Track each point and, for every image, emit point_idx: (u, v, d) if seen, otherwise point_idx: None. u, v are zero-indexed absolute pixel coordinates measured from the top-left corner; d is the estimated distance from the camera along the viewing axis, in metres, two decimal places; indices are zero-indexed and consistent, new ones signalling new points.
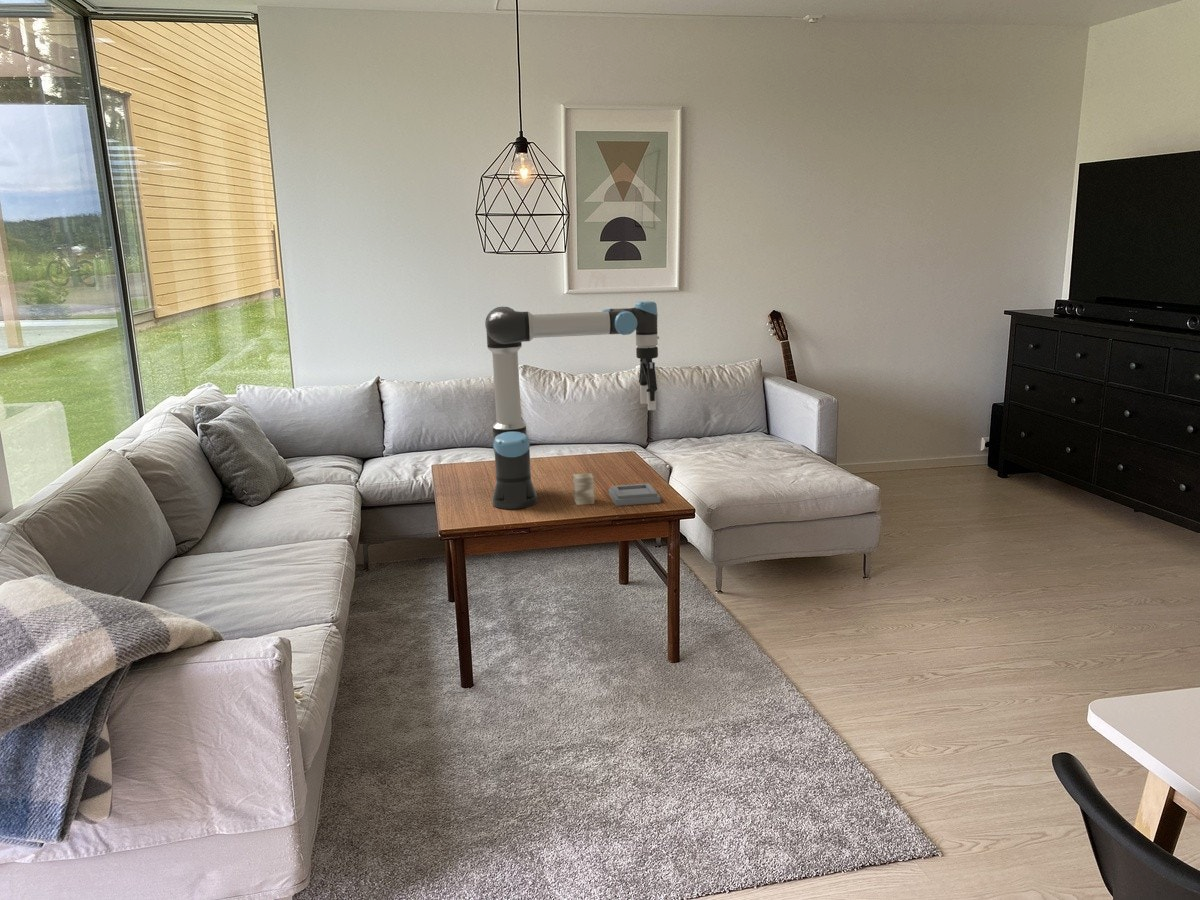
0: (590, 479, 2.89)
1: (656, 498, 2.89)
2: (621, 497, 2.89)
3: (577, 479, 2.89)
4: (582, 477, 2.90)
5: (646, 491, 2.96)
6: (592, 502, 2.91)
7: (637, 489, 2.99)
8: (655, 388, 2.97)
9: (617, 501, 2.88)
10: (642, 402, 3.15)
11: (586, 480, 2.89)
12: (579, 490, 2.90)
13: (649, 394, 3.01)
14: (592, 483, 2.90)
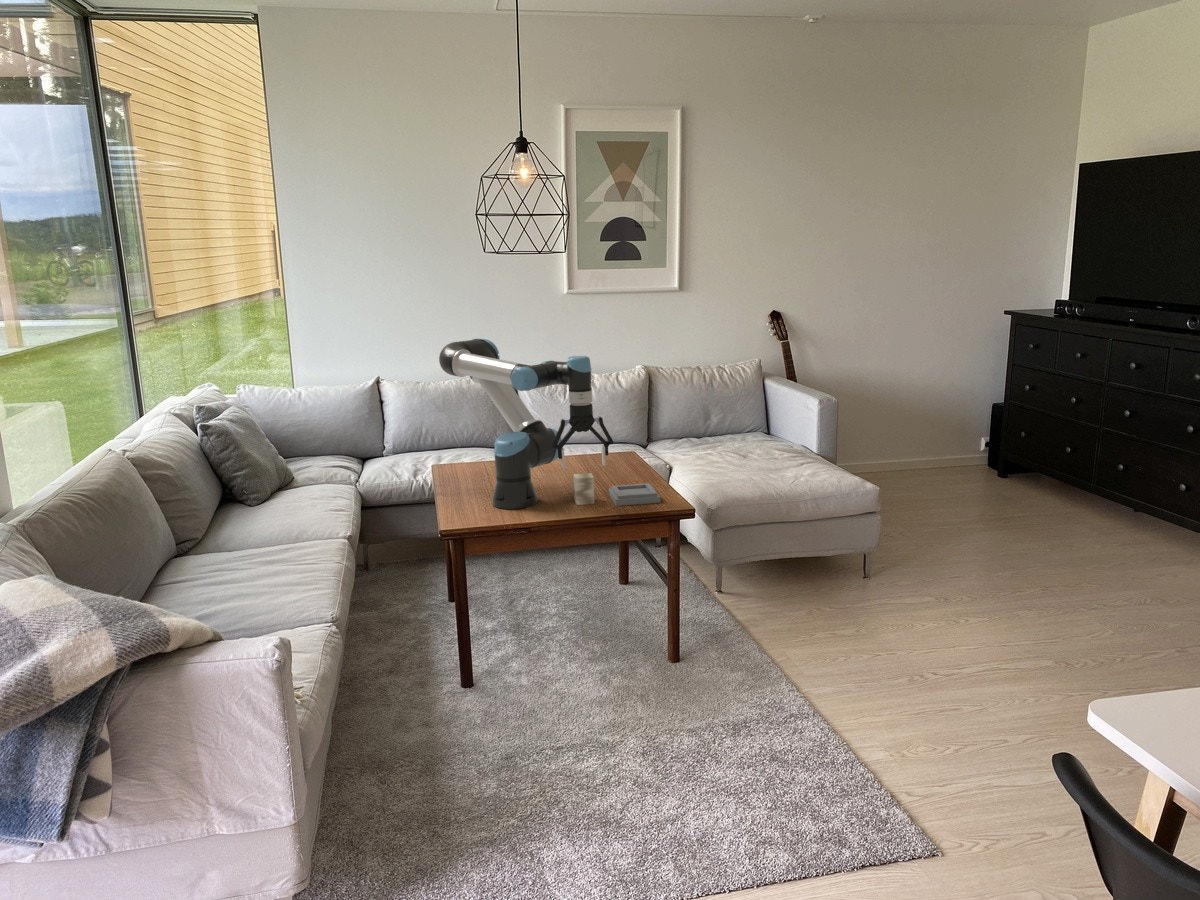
0: (590, 479, 2.89)
1: (656, 498, 2.89)
2: (621, 497, 2.89)
3: (577, 479, 2.89)
4: (582, 477, 2.90)
5: (646, 491, 2.96)
6: (592, 502, 2.91)
7: (637, 489, 2.99)
8: (552, 445, 2.87)
9: (617, 501, 2.88)
10: (602, 463, 2.92)
11: (586, 480, 2.89)
12: (579, 490, 2.90)
13: None
14: (592, 483, 2.90)
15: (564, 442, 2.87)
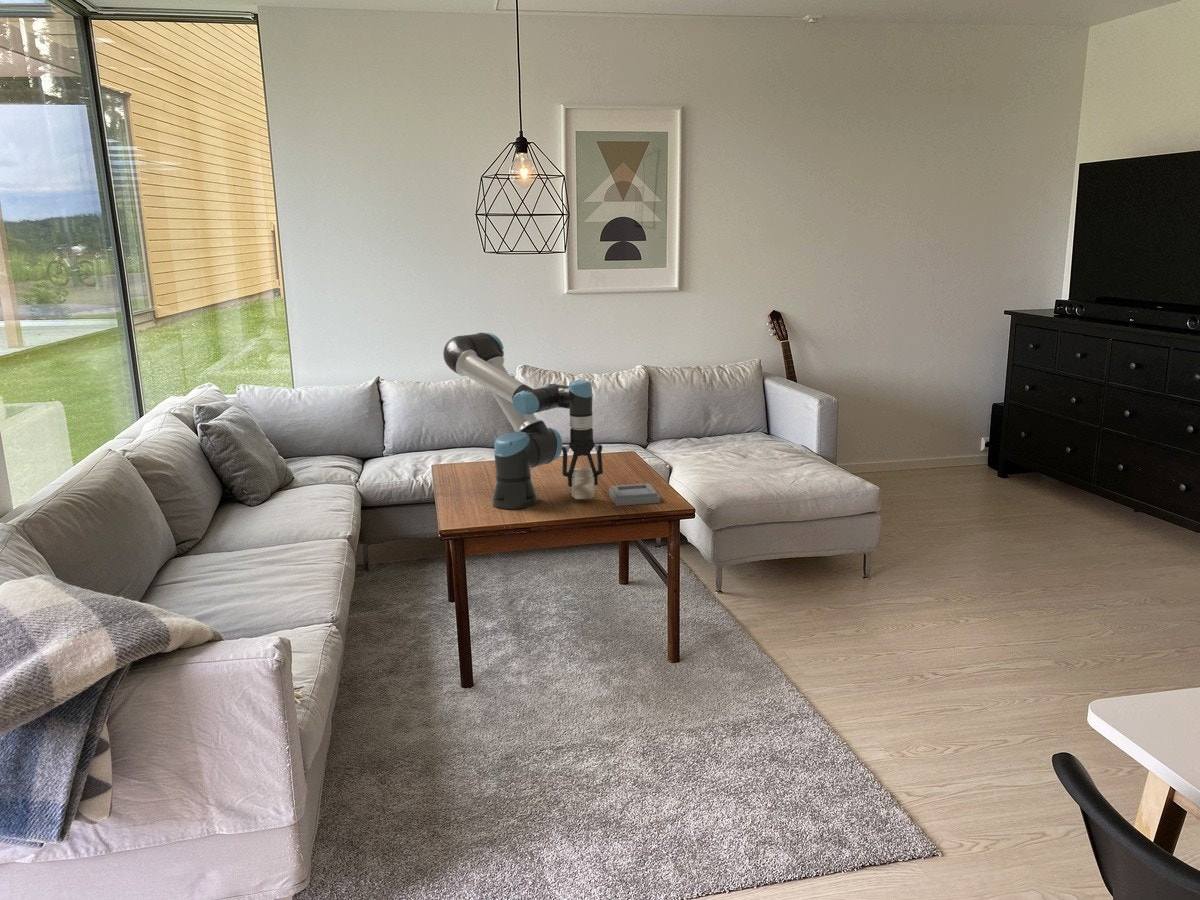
0: (589, 473, 2.89)
1: (656, 498, 2.89)
2: (621, 497, 2.89)
3: (576, 473, 2.89)
4: (581, 471, 2.90)
5: (646, 491, 2.96)
6: (591, 496, 2.91)
7: (637, 489, 2.99)
8: (563, 473, 2.90)
9: (617, 501, 2.88)
10: None
11: (585, 474, 2.89)
12: (578, 484, 2.90)
13: None
14: (591, 477, 2.90)
15: (572, 469, 2.90)
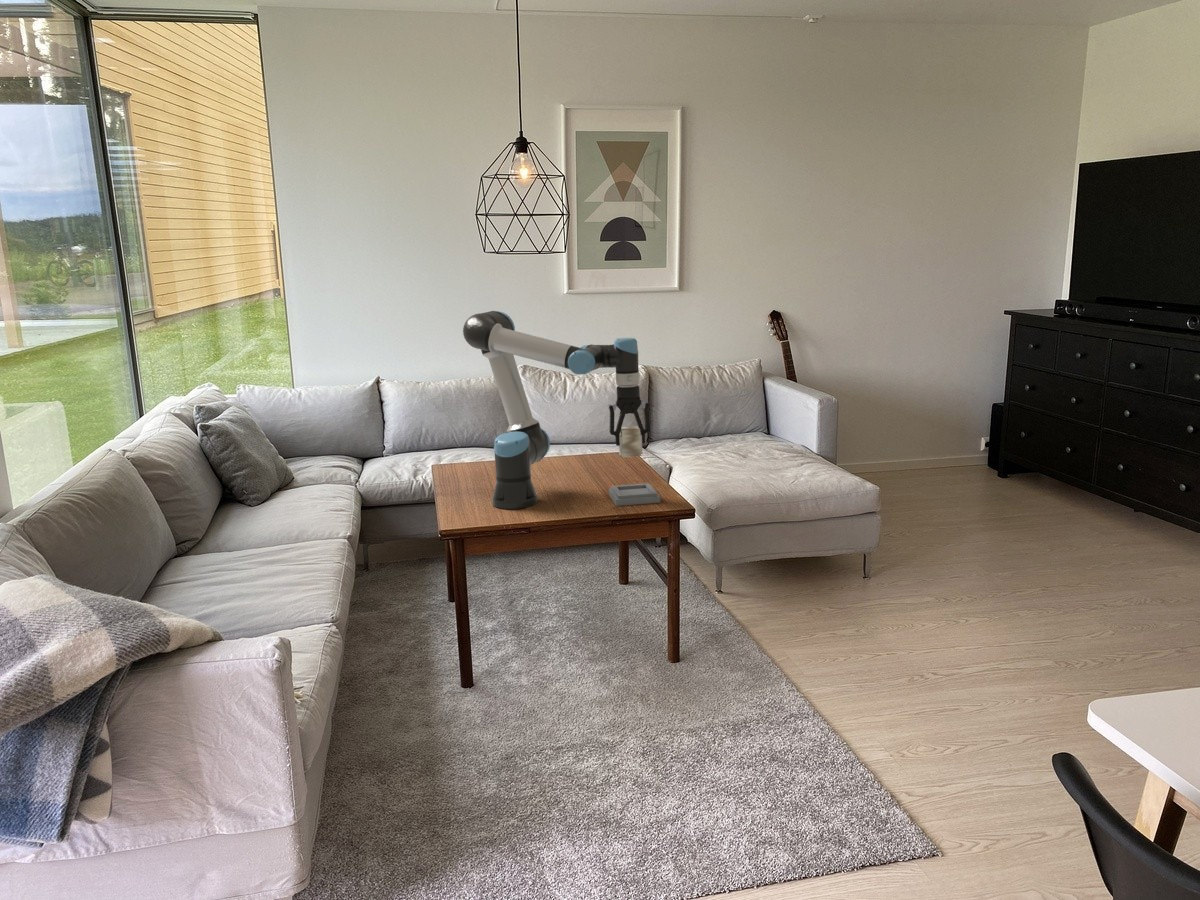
0: (637, 431, 2.88)
1: (656, 498, 2.89)
2: (621, 497, 2.89)
3: (624, 431, 2.87)
4: (628, 429, 2.88)
5: (646, 491, 2.96)
6: (639, 454, 2.90)
7: (637, 489, 2.99)
8: None
9: (617, 501, 2.88)
10: None
11: (633, 432, 2.88)
12: (626, 442, 2.88)
13: None
14: (639, 435, 2.88)
15: (619, 428, 2.89)
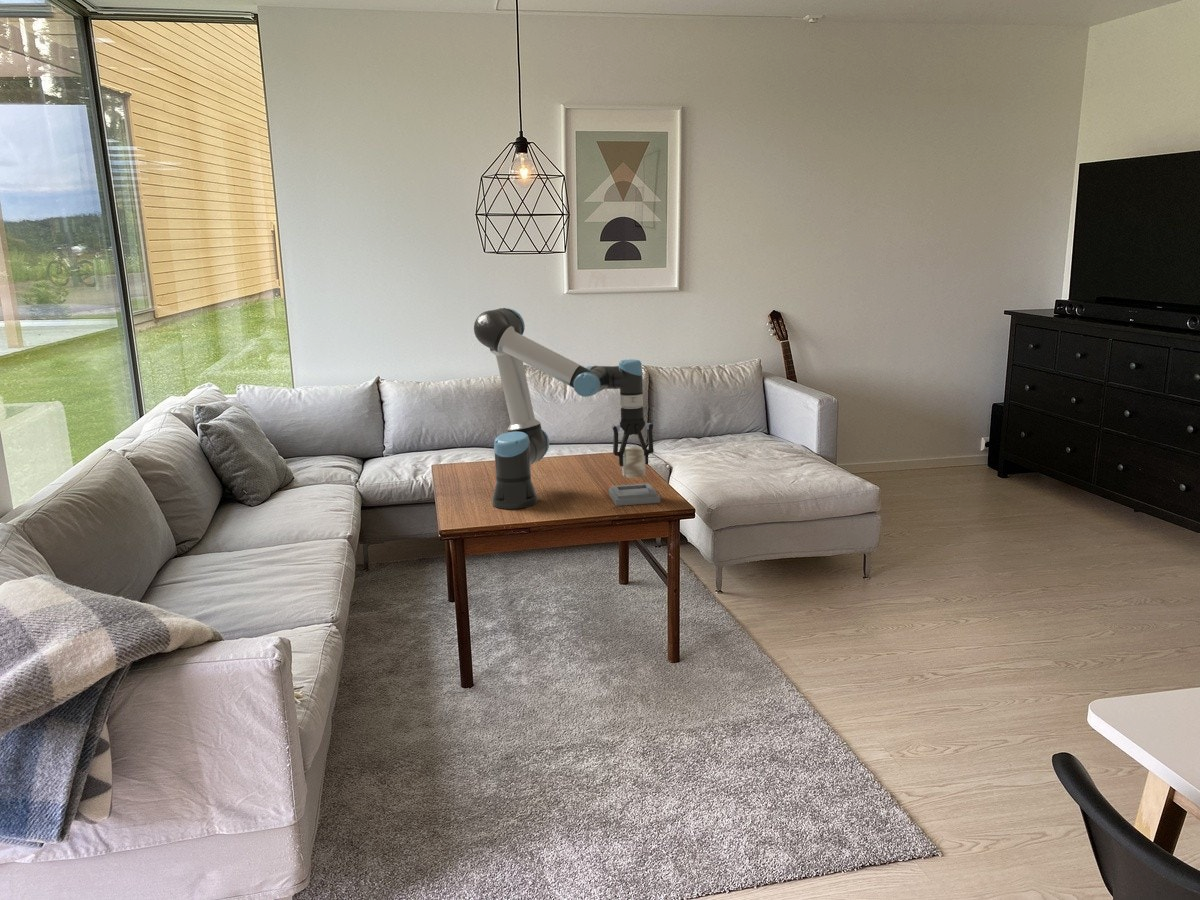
0: (640, 452, 2.90)
1: (656, 498, 2.89)
2: (621, 497, 2.89)
3: (627, 452, 2.89)
4: (632, 450, 2.90)
5: (646, 491, 2.96)
6: (642, 475, 2.92)
7: (637, 489, 2.99)
8: (614, 453, 2.91)
9: (617, 501, 2.88)
10: None
11: (636, 453, 2.90)
12: (630, 463, 2.90)
13: None
14: (642, 456, 2.90)
15: (623, 448, 2.91)
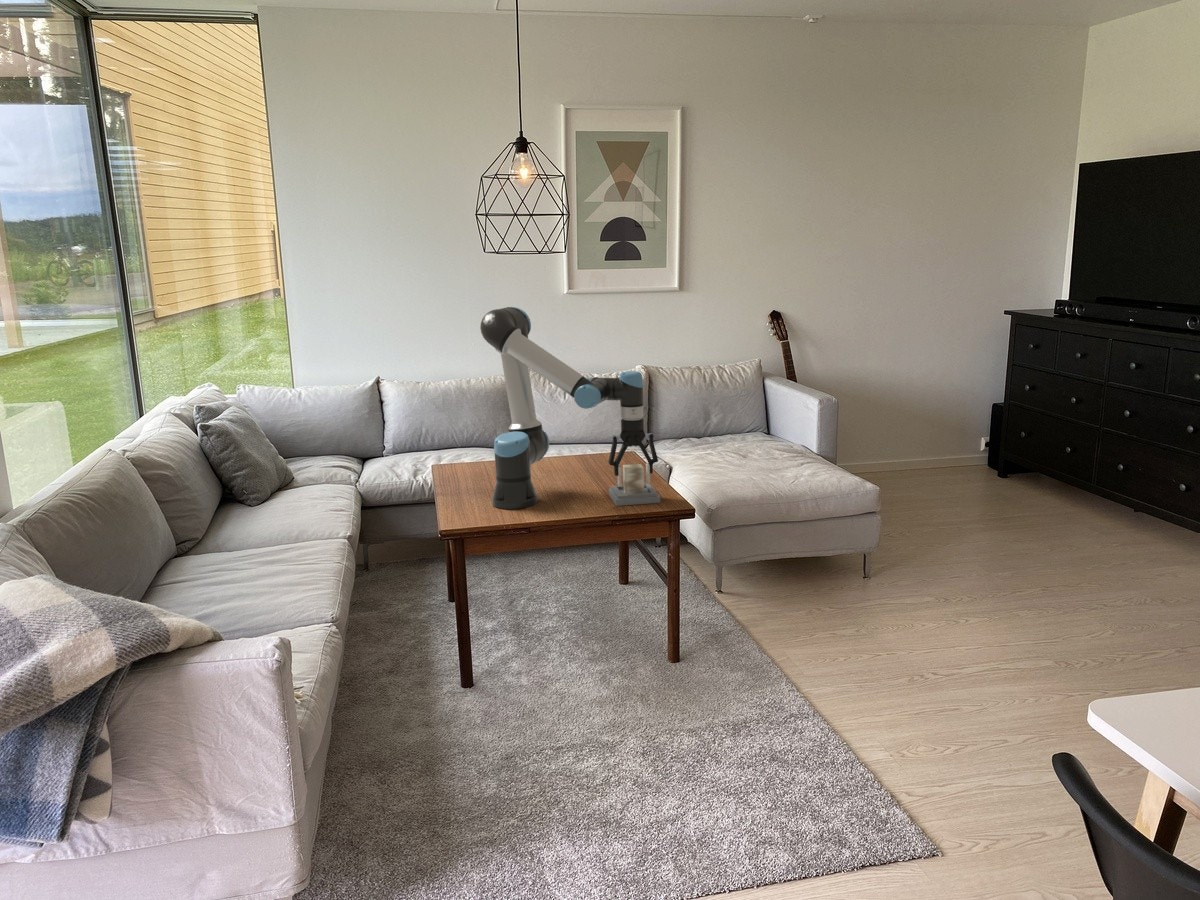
0: (640, 469, 2.91)
1: (656, 498, 2.89)
2: (621, 497, 2.89)
3: (628, 469, 2.91)
4: (632, 468, 2.92)
5: (646, 491, 2.96)
6: (642, 492, 2.93)
7: None
8: (609, 463, 2.91)
9: (617, 501, 2.88)
10: (646, 480, 2.96)
11: (636, 470, 2.91)
12: (630, 480, 2.91)
13: None
14: (642, 473, 2.92)
15: (619, 459, 2.91)
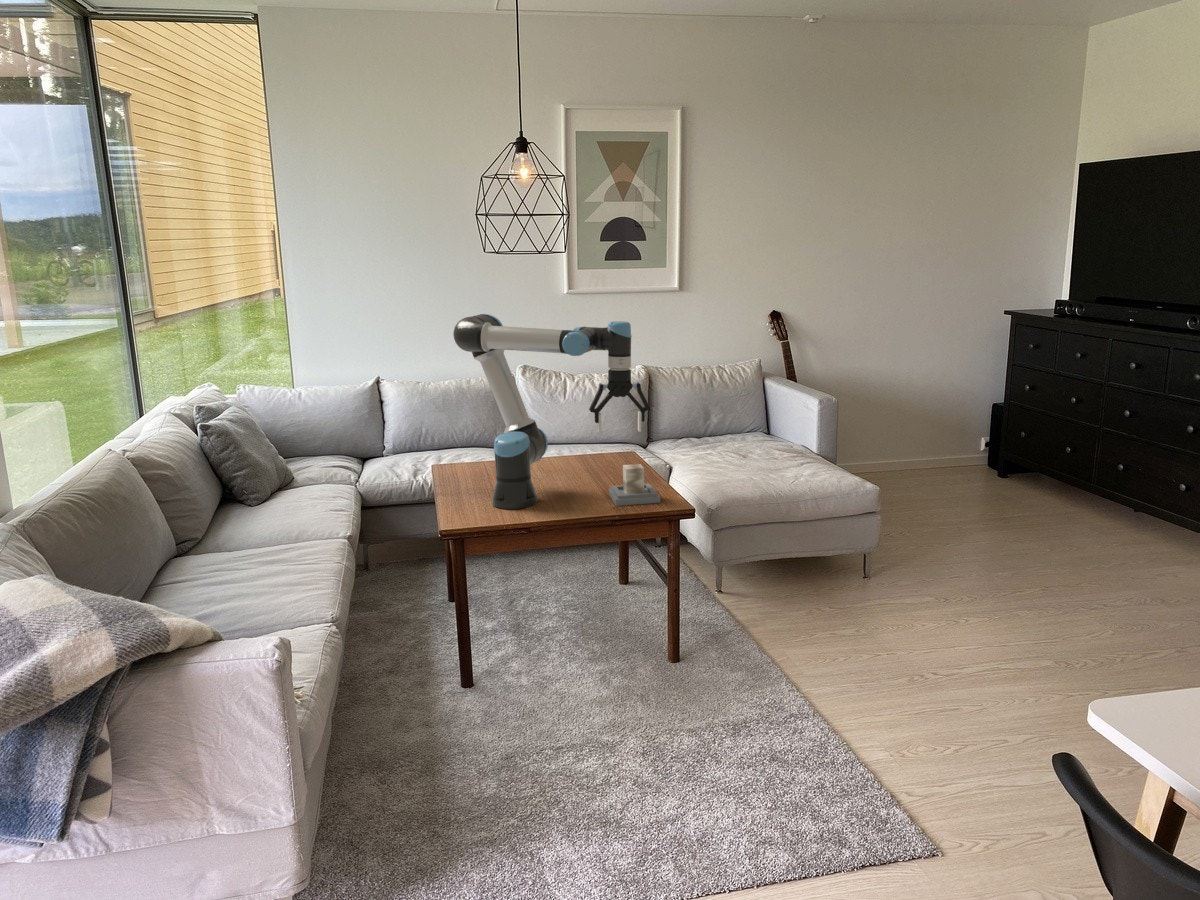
0: (640, 469, 2.91)
1: (656, 498, 2.89)
2: (621, 497, 2.89)
3: (628, 469, 2.91)
4: (632, 468, 2.92)
5: (646, 491, 2.96)
6: (642, 492, 2.93)
7: None
8: (590, 409, 2.90)
9: (617, 501, 2.88)
10: (638, 429, 2.95)
11: (636, 470, 2.91)
12: (630, 480, 2.91)
13: None
14: (642, 473, 2.92)
15: (601, 406, 2.89)
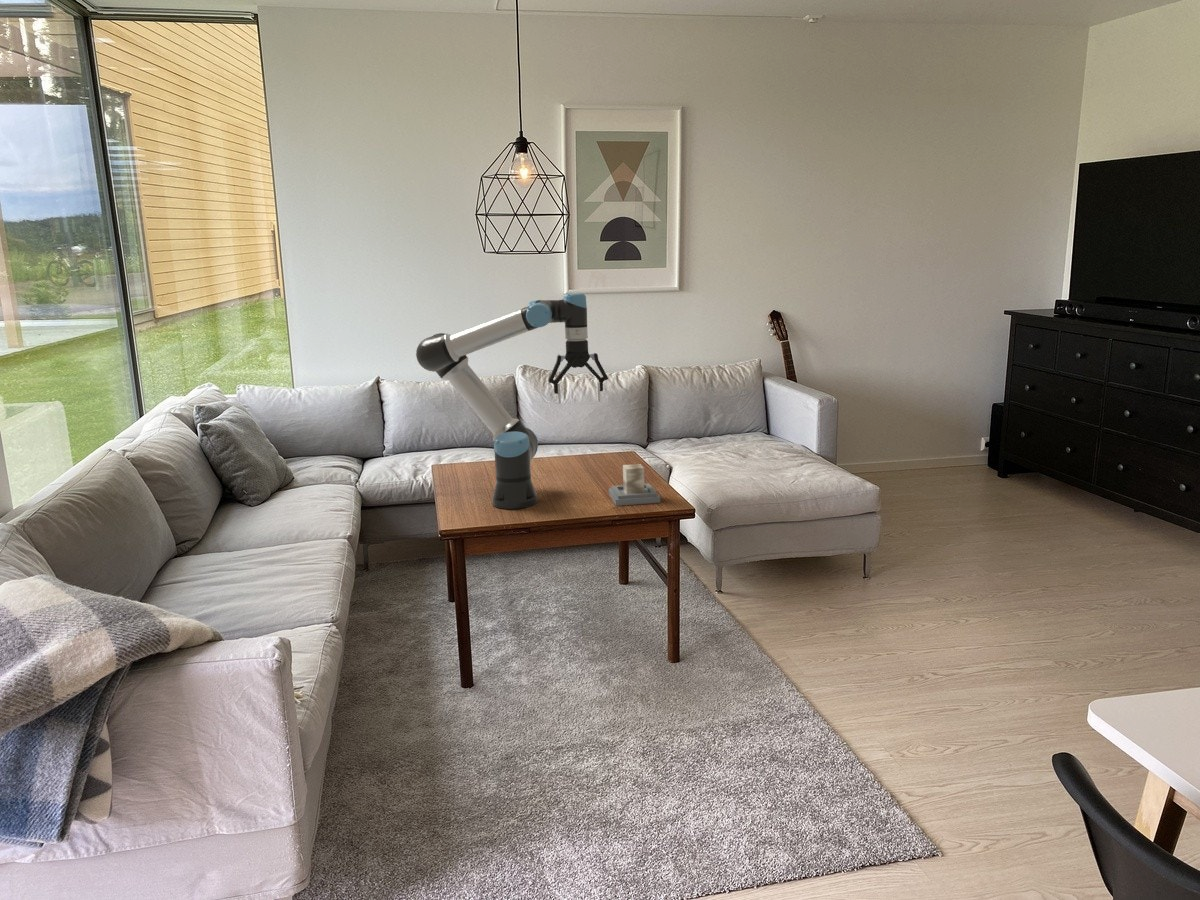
0: (640, 469, 2.91)
1: (656, 498, 2.89)
2: (621, 497, 2.89)
3: (628, 469, 2.91)
4: (632, 468, 2.92)
5: (646, 491, 2.96)
6: (642, 492, 2.93)
7: None
8: (548, 380, 2.96)
9: (617, 501, 2.88)
10: (597, 399, 3.01)
11: (636, 470, 2.91)
12: (630, 480, 2.91)
13: None
14: (642, 473, 2.92)
15: (560, 377, 2.96)
